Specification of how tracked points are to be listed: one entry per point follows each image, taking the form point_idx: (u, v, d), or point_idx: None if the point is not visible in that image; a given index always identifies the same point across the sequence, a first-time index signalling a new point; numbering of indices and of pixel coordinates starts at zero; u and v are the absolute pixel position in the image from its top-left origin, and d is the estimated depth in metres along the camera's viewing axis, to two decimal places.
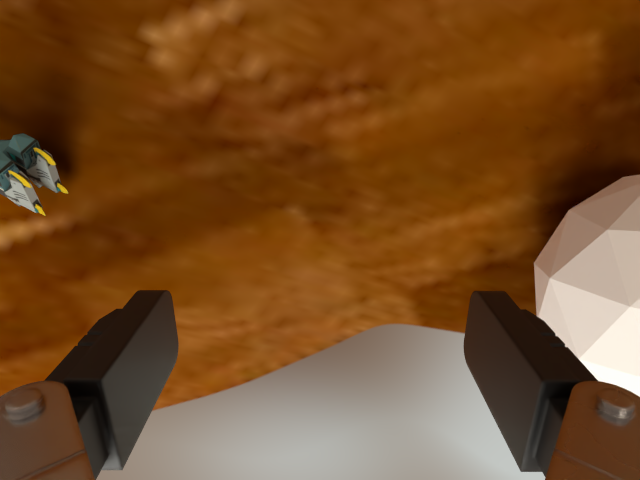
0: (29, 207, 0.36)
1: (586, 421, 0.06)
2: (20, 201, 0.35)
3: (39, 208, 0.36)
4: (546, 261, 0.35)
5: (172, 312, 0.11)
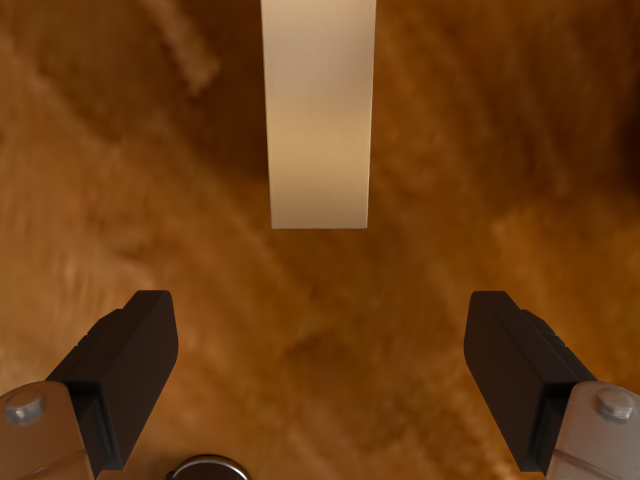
0: None
1: (586, 421, 0.06)
2: None
3: None
4: None
5: (172, 312, 0.11)
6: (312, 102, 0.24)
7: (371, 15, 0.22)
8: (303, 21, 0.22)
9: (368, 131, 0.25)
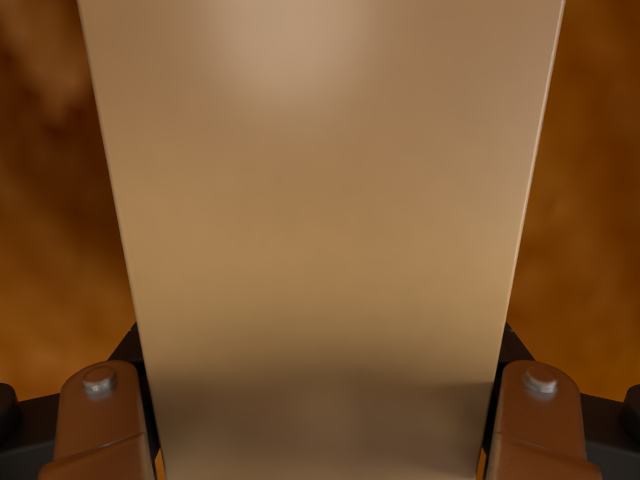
0: None
1: (518, 399, 0.07)
2: None
3: None
4: None
5: None
6: (296, 193, 0.06)
7: None
8: None
9: (503, 291, 0.07)
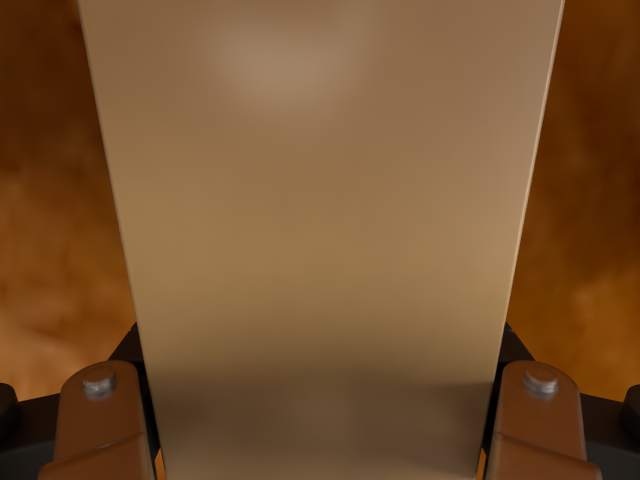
0: None
1: (518, 400, 0.07)
2: None
3: None
4: None
5: None
6: (296, 192, 0.06)
7: None
8: None
9: (503, 290, 0.07)
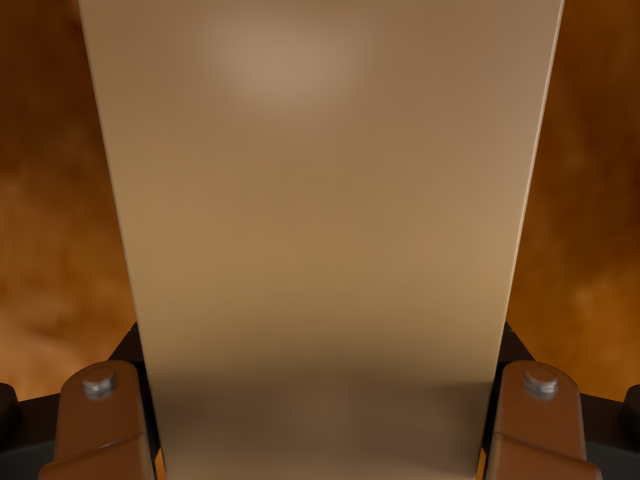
0: None
1: (518, 400, 0.07)
2: None
3: None
4: None
5: None
6: (295, 192, 0.06)
7: None
8: None
9: (503, 290, 0.07)
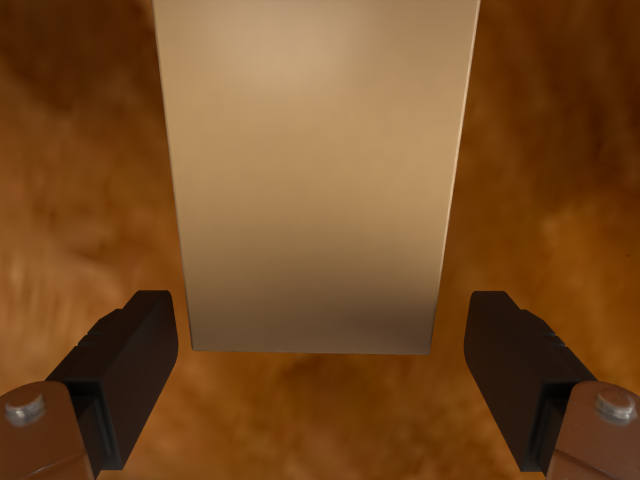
0: None
1: (586, 421, 0.06)
2: None
3: None
4: None
5: (172, 312, 0.11)
6: (296, 16, 0.08)
7: None
8: None
9: (458, 109, 0.08)
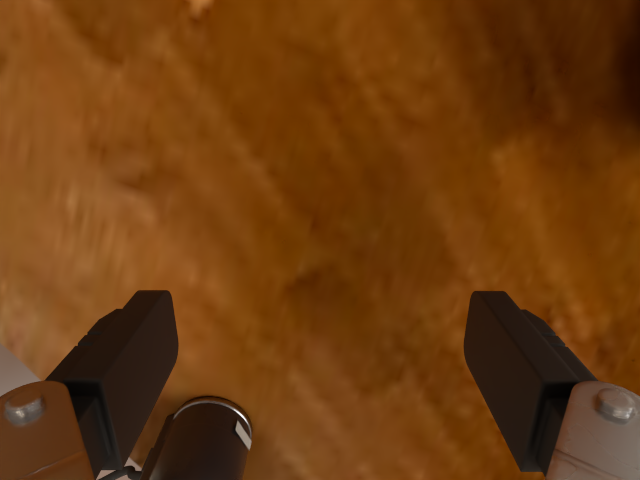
0: None
1: (586, 421, 0.06)
2: None
3: None
4: None
5: (172, 312, 0.11)
6: None
7: None
8: None
9: None
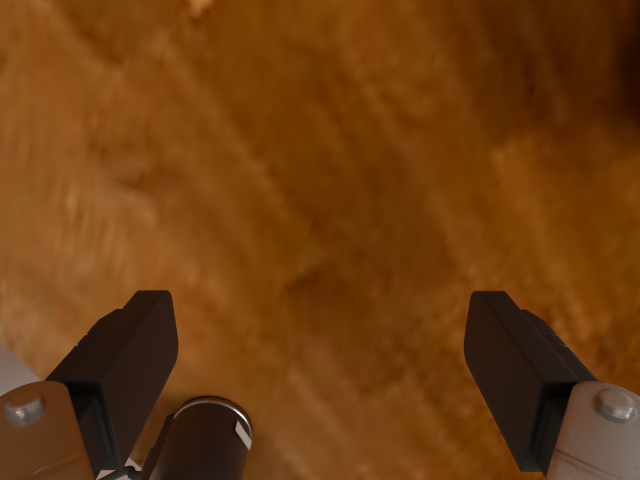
0: None
1: (586, 421, 0.06)
2: None
3: None
4: None
5: (172, 312, 0.11)
6: None
7: None
8: None
9: None
